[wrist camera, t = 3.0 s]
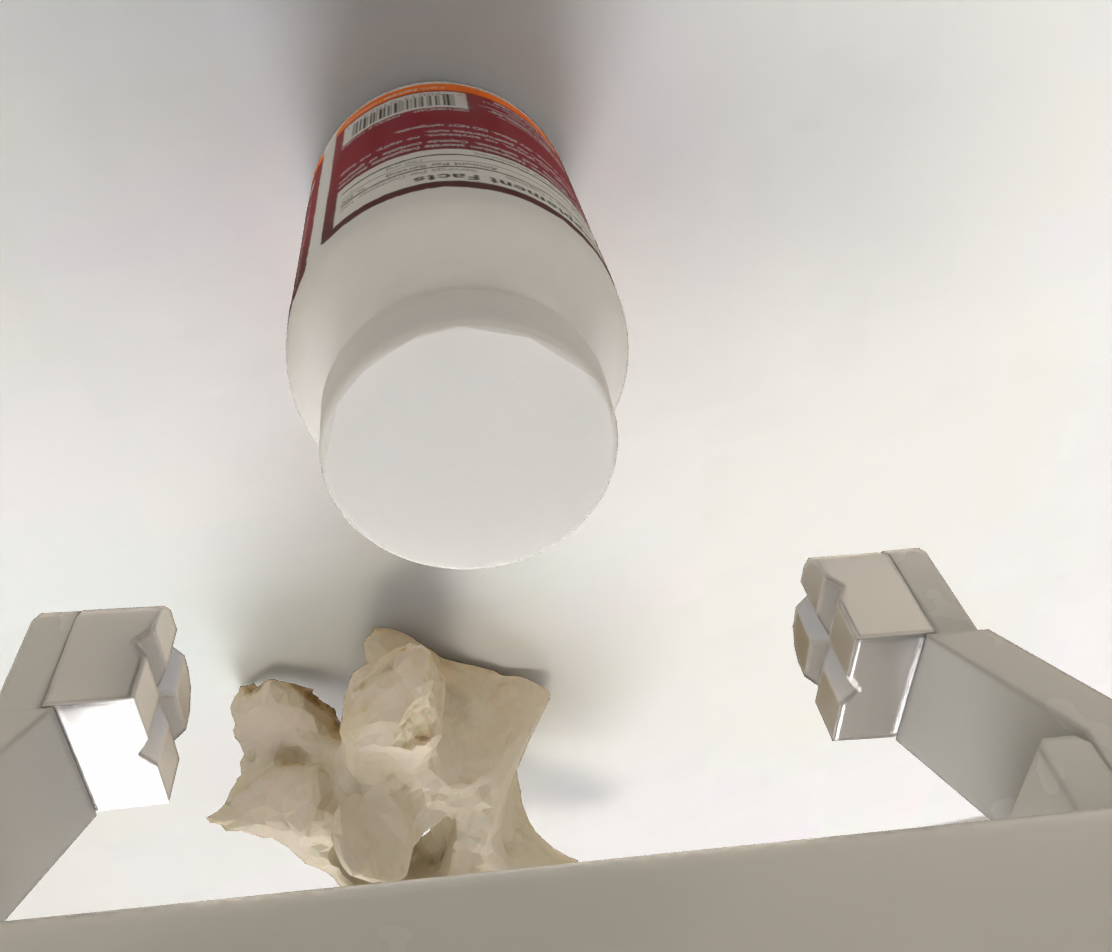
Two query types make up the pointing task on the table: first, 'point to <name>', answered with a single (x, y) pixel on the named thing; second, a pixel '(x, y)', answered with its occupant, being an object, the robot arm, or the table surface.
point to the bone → (391, 768)
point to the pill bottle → (454, 331)
